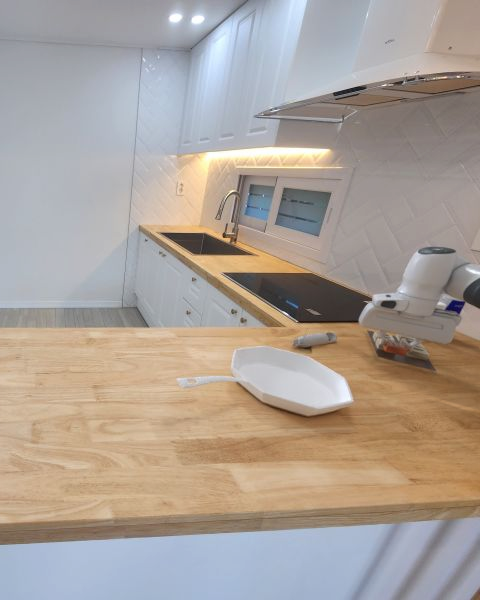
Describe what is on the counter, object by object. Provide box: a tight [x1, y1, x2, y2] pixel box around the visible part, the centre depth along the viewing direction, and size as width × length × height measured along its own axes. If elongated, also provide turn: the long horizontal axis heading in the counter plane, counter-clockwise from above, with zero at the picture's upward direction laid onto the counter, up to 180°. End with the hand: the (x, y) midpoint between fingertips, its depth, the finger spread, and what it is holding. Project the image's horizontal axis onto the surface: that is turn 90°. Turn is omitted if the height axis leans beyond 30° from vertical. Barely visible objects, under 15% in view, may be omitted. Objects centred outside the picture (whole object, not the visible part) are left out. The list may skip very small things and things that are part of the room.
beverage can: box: [439, 294, 467, 316], centre depth 114 cm, size 6×6×15 cm
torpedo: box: [291, 327, 338, 348], centre depth 106 cm, size 18×5×6 cm, turn 110°
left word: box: [373, 331, 395, 350], centre depth 107 cm, size 4×10×2 cm, turn 148°
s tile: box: [382, 341, 408, 356], centre depth 100 cm, size 4×4×2 cm
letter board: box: [366, 329, 437, 372], centre depth 106 cm, size 13×22×1 cm, turn 148°
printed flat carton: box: [395, 334, 430, 361], centre depth 106 cm, size 4×16×2 cm, turn 148°
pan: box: [176, 345, 355, 418], centre depth 81 cm, size 25×44×6 cm, turn 107°
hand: (394, 347), depth 100 cm, fingers closed on s tile, 4 cm apart
